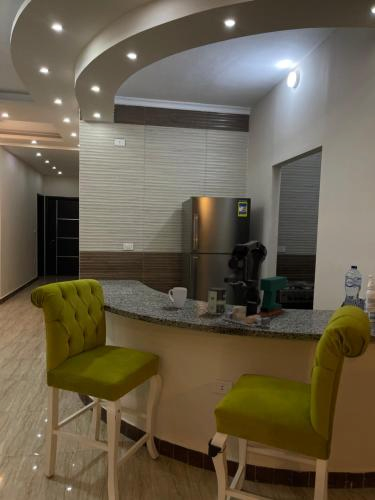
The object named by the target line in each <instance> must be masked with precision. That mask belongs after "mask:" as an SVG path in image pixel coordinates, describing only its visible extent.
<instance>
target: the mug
mask: <svg viewBox="0 0 375 500" xmlns="http://www.w3.org/2000/svg"><path fill="white" fill-rule="evenodd" d="M187 289H188V288H186V287H179V286H178V287H173V289H170V290H169V291H168V297H169V299H170V300H171V301H172V303H174V306H175V308H177V309H183V307H184V305H185V303H186V299H187V294H188V292H187V291H188V290H187ZM171 292H172V295H171Z"/></svg>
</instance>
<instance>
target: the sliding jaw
mask: <svg viewBox="0 0 375 500" xmlns="http://www.w3.org/2000/svg"><path fill="white" fill-rule="evenodd" d="M245 322H247V323H253V322H258V323H261V325H260V326H268V325H270V324H271V318H270V317H262V316H261V315H260V314H259V315H253V316H251V315H247V316H246V317H245Z"/></svg>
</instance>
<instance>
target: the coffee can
mask: <svg viewBox="0 0 375 500" xmlns="http://www.w3.org/2000/svg"><path fill="white" fill-rule="evenodd" d="M227 290H228V289H227V288H226V287H222V286H221V287H219V286H212V287H211V286H209V287H208V298H207V302H208V303H207V313H208V314H210V315H220V316H221V315H225V314H226V305H227V303H226V302H227Z"/></svg>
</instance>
